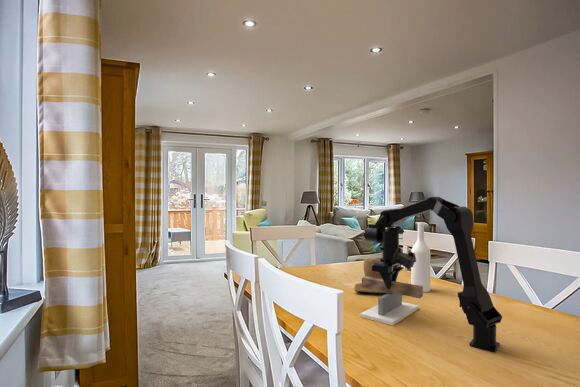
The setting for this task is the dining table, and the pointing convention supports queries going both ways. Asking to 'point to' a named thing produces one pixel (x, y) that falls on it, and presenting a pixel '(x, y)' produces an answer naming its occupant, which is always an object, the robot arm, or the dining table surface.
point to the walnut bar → (393, 287)
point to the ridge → (389, 309)
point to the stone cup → (369, 273)
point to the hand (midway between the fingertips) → (390, 287)
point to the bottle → (421, 261)
